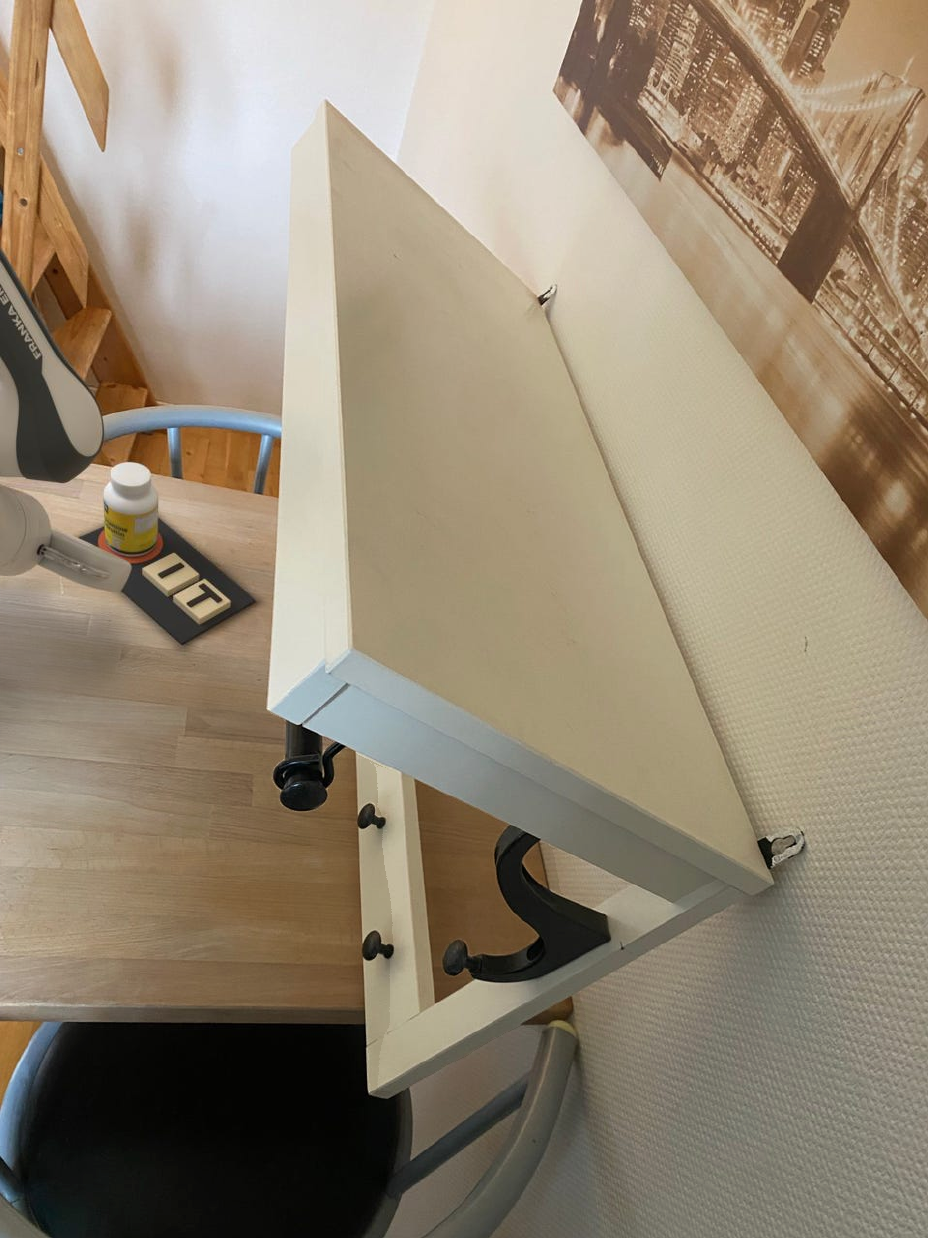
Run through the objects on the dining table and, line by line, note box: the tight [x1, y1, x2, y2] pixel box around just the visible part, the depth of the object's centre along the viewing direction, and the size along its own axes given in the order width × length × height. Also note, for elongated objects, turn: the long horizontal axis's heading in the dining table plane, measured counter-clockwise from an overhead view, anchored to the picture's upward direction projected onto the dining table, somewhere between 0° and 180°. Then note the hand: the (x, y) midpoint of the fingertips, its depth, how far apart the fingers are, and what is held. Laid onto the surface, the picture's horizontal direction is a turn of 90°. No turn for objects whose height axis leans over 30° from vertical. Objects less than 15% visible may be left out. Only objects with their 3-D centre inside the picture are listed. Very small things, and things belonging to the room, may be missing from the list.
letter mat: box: [78, 517, 257, 646], centre depth 107 cm, size 22×12×2 cm, turn 52°
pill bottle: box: [102, 461, 159, 557], centre depth 105 cm, size 6×6×12 cm
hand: (70, 546), depth 95 cm, fingers open, 8 cm apart
